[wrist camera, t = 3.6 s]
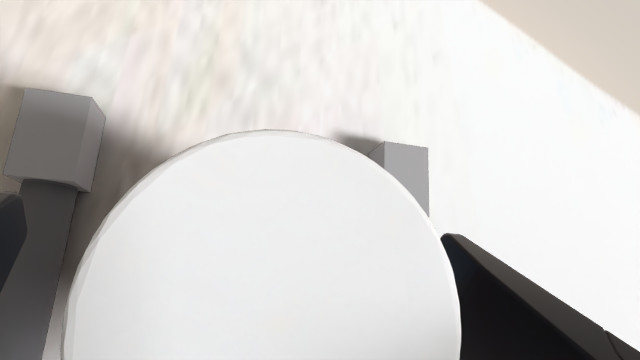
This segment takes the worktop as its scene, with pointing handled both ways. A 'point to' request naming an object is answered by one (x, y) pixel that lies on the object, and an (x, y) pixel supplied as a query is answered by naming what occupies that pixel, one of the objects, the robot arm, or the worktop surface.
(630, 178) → the worktop surface
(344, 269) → the pill bottle
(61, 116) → the grey block-headed part
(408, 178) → the grey block-tipped rod
